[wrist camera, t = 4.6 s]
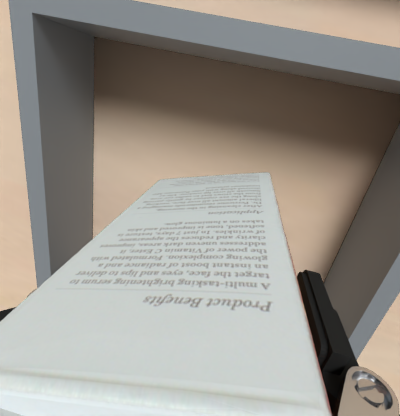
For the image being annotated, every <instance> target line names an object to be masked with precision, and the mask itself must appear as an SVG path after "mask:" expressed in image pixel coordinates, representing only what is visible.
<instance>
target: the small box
mask: <svg viewBox="0 0 400 416" xmlns="http://www.w3.org/2000/svg"><path fill="white" fill-rule="evenodd" d="M0 408H1V409H5V410H8V411H11V412H14V413H17V414H20V415H23V416H332V413H331V409H330V405H329V401H328V396H327V392H326V388H325V384H324V381H323V377H322V373H321V370H320V366H319V362H318V358H317V354H316V350H315V347H314V343H313V339H312V335H311V331H310V327H309V323H308V319H307V316H306V312H305V308H304V304H303V300H302V296H301V292H300V288H299V284H298V280H297V276H296V272H295V269H294V265H293V260H292V256H291V253H290V249H289V246H288V242H287V238H286V235H285V232H284V229H283V224H282V220H281V215H280V211H279V207H278V203H277V199H276V195H275V192H274V188H273V184H272V180H271V174H270V173H267V172H265V173H248V174H232V175H216V176H202V177H187V178H174V179H162V180H159V181H158V182H157V183H155V184H154V185H153V186H152V187H151V188H150V189H149V190H148V191H146V192H145V193H144V194H143V195H142V196H141V197H140V198H139V199H137V200H136V201H135V202H134V203H133V204H132V205H131V206H129V207H128V208H127V209H126V210H125V211H124V212H123V213H121V214H120V215H119V216H118V217H117V218H116V219H115V220H113V221H112V222H111V223H110V224H109V225H108V226H107V227H105V228H104V229H103V230H102V231H101V232H100V233H99V234H98V235H97V236H96V237H95V238H93V239H92V240H91V241H90V242H89V243H88V244H86V245H85V246H84V247H83V248H82V249H81V250H80V251H79V252H78V253H77V254H75V255H74V256H73V257H72V258H71V259H70V260H68V261H67V262H66V263H65V264H64V265H63V266H62V267H61V268H60V269H58V270H57V271H56V272H55V273H54V274H53V275H52V276H51V277H50V278H48V279H47V280H46V281H45V282H44V283H43V284H42V285H41V286H40V287H39V288H37V289H36V290H35V291H34V292H33V293H32V294H30V295H29V296H28V297H27V298H26V299H25V300H24V301H23V302H22V303H20V304H19V305H18V306H17V307H16V308H15V309H14V310H12V311H11V312H10V313H9V314H8V315H7V316H6V317H5V318H4V319H3V320H2V321H0Z"/></svg>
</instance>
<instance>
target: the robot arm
mask: <svg viewBox="0 0 400 416" xmlns="http://www.w3.org/2000/svg"><path fill="white" fill-rule="evenodd" d="M297 280H298V284H299V288H300V292H301V296H302V300H303V304H304V308H305V312H306V316H307V319H308V323H309V327H310V331H311V335H312V339H313V343H314V347H315V350H316V354H317V358H318V362H319V366H320V370H321V373H322V377H323V381H324V384H325V388H326V392H327V396H328V401H329V405H330V409H331V413H332V416H400V415H399V404H398V399H397V397H396V395H395V393H394V391H393V390H392V389H391V387H390V386H389V385H388V384H387V383H386V382H385V381H384V380H383V379H382V378H381V377H380V376H379V375H377V374H376V373H374V372H373V371H371V370H369V369H367V368H364V367H360V366H359V365H358V363H357V360H356V358H355V355H354V353H353V350H352V348H351V345H350V343H349V340H348V338H347V335H346V333H345V330H344V328H343V325H342V323H341V320H340V318H339V315H338V313H337V311H336V310H335V309H333V307H332V304H331V302H330V299H329V296H328V294H327V291H326V289H325V286H324V283H323V281H322V278H321V276H320V274H319V273H316V272H312V271H308V270H304V272H303V273H302V272H299V274H298V276H297ZM35 290H36V289H35ZM35 290H33V291H32V292H31V293H30V294H32V293H33V292H34V291H35ZM30 294H29V295H30ZM29 295H28V296H29ZM28 296H27V297H28ZM15 308H16V307H15ZM15 308H11V309H7V310H4V311H0V321H2V320H3V319H4V318H5V317H6V316H7V315H8V314H9V313H10V312H11V311H12V310H14V309H15ZM0 416H23V415H20V414H17V413H14V412H11V411H8V410H5V409H1V408H0Z"/></svg>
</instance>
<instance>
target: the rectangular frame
mask: <svg viewBox="0 0 400 416" xmlns="http://www.w3.org/2000/svg"><path fill="white" fill-rule="evenodd" d="M9 10H10V20H11V30H12V40H13V50H14V60H15V70H16V80H17V90H18V100H19V110H20V120H21V129H22V139H23V149H24V159H25V169H26V179H27V189H28V199H29V209H30V219H31V229H32V239H33V249H34V259H35V269H36V279H37V288H39V287H40V286H41V285H42V284H43V283H44V282H45V281H46V280H47V279H48V278H50V277H51V276H52V275H53V274H54V273H55V272H56V271H57V270H58V269H60V268H61V267H62V266H63V265H64V264H65V263H66V262H67V261H68V260H70V259H71V258H72V257H73V256H74V255H75V254H77V253H78V252H79V251H80V250H81V249H82V248H83V247H84V246H85V245H86V244H88V243H89V242H90V241H91V240H92V226H93V123H94V37H99V38H104V39H109V40H114V41H120V42H125V43H130V44H136V45H141V46H146V47H151V48H157V49H162V50H167V51H173V52H178V53H183V54H189V55H194V56H199V57H204V58H210V59H215V60H220V61H226V62H231V63H236V64H241V65H247V66H252V67H257V68H263V69H268V70H273V71H279V72H284V73H289V74H294V75H300V76H305V77H310V78H316V79H321V80H326V81H331V82H337V83H342V84H347V85H353V86H358V87H363V88H369V89H374V90H379V91H384V92H390V93H395V94H400V48H397V47H391V46H386V45H380V44H374V43H369V42H363V41H357V40H352V39H346V38H341V37H335V36H329V35H324V34H318V33H312V32H307V31H301V30H296V29H290V28H284V27H279V26H273V25H268V24H262V23H256V22H251V21H245V20H239V19H234V18H228V17H223V16H217V15H211V14H206V13H200V12H194V11H189V10H183V9H178V8H172V7H166V6H161V5H155V4H149V3H144V2H138V1H133V0H9ZM324 286H325V289H326V291H327V294H328V296H329V299H330V302H331V304H332V307H333V309H335V310H336V311H337V313H338V315H339V318H340V320H341V323H342V325H343V328H344V330H345V333H346V335H347V338H348V340H349V343H350V345H351V348H352V350H353V353H354V355H355V358H356V360H357V358H358V357H359V355H360V354H361V352H362V350H363V349H364V347H365V346H366V344H367V343H368V341H369V339H370V338H371V336H372V335H373V333H374V332H375V330H376V328H377V327H378V325H379V324H380V322H381V321H382V319H383V317H384V316H385V314H386V313H387V311H388V310H389V308H390V306H391V305H392V303H393V302H394V300H395V299H396V297H397V295H398V294H399V292H400V123H399V125H398V127H397V129H396V131H395V134H394V136H393V138H392V140H391V142H390V144H389V146H388V148H387V151H386V153H385V155H384V157H383V159H382V161H381V163H380V165H379V167H378V170H377V172H376V174H375V176H374V178H373V180H372V182H371V184H370V186H369V189H368V191H367V193H366V195H365V197H364V199H363V201H362V203H361V206H360V208H359V210H358V212H357V214H356V216H355V218H354V220H353V222H352V225H351V227H350V229H349V231H348V233H347V235H346V237H345V239H344V241H343V244H342V246H341V248H340V250H339V252H338V254H337V256H336V258H335V260H334V263H333V265H332V267H331V269H330V271H329V273H328V275H327V277H326V280H325V282H324Z"/></svg>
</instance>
